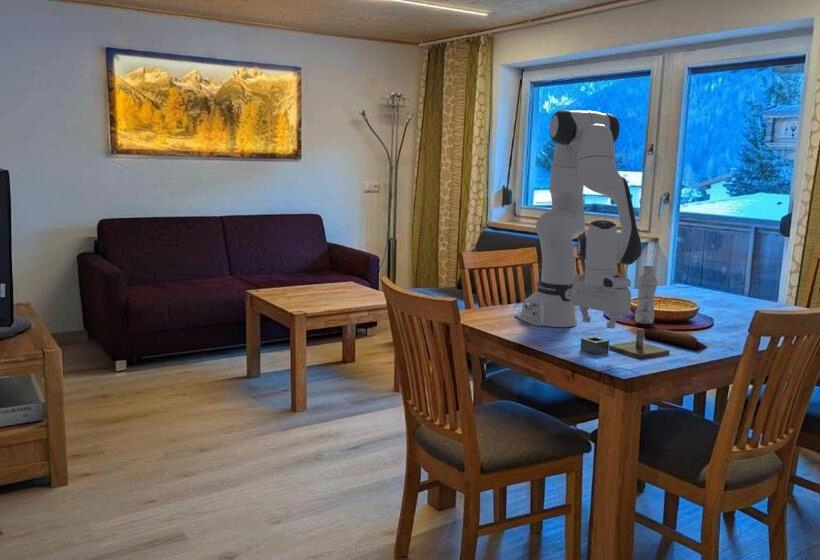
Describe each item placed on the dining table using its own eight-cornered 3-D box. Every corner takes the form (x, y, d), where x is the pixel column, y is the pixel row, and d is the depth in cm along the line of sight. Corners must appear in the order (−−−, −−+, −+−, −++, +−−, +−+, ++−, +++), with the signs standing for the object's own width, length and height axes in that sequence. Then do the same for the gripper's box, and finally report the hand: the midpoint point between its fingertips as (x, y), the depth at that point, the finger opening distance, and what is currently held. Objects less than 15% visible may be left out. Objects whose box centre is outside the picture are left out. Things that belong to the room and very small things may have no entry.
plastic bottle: (632, 324, 246) (637, 267, 243) (636, 321, 252) (640, 264, 249) (651, 327, 243) (656, 268, 240) (655, 323, 249) (660, 266, 246)
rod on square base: (608, 349, 213) (610, 326, 211) (636, 344, 219) (638, 322, 218) (640, 359, 202) (642, 335, 201) (669, 354, 209) (671, 331, 208)
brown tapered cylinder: (711, 347, 218) (707, 330, 215) (699, 361, 215) (694, 344, 212) (658, 335, 232) (654, 319, 229) (647, 348, 229) (642, 332, 226)
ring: (580, 350, 210) (581, 338, 210) (594, 348, 213) (595, 336, 213) (594, 354, 206) (595, 342, 205) (608, 352, 209) (609, 340, 208)
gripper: (566, 274, 213) (564, 319, 215) (619, 283, 196) (617, 333, 198) (582, 272, 216) (580, 317, 218) (635, 281, 199) (633, 330, 201)
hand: (598, 325), depth 208 cm, fingers open, 8 cm apart
